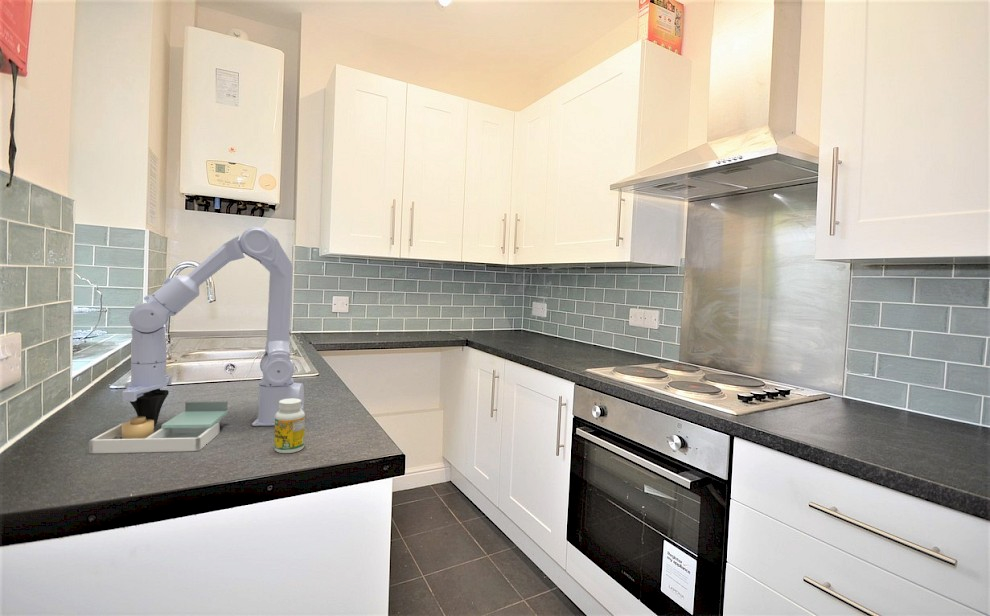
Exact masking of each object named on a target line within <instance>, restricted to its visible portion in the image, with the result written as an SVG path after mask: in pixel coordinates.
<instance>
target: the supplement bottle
mask: <svg viewBox="0 0 990 616" xmlns="http://www.w3.org/2000/svg"><path fill="white" fill-rule="evenodd" d="M300 408H301V400H300V399H295V398H290V399H283V400H280V401H279V409H280V411H278V412H277V413H276V415H275V425H274V451H275V452H277V453H280V454H293V453H297V452H299V451H302V450H303V449H304V448H305V441H306V440H305V437H306V436H305V435H306V434H305V432H306V430H305V429H306V427H305V425H306V413H305V410H304V411H303V410H301V409H300Z"/></svg>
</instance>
